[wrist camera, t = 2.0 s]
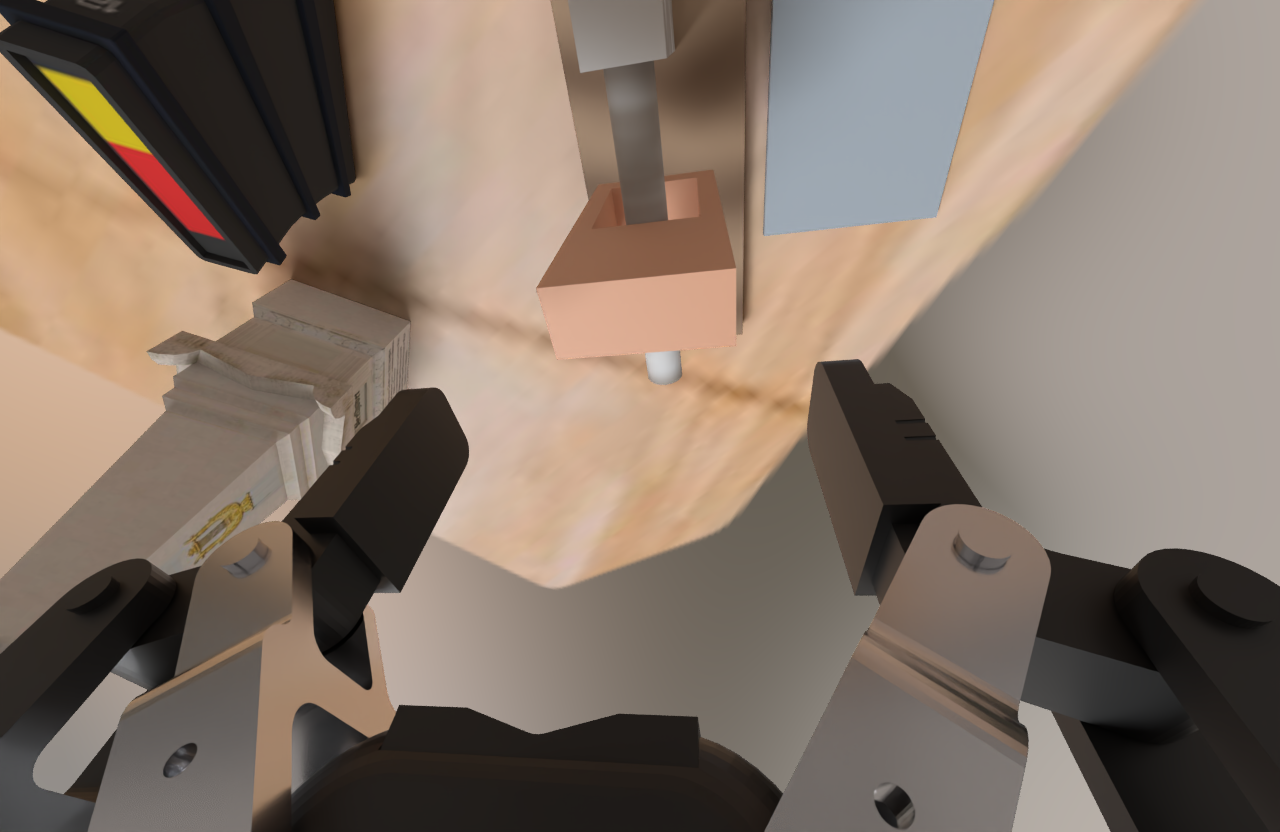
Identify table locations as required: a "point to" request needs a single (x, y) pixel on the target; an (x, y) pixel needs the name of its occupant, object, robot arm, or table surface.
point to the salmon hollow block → (644, 276)
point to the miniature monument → (223, 442)
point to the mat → (865, 108)
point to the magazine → (200, 108)
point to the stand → (659, 108)
